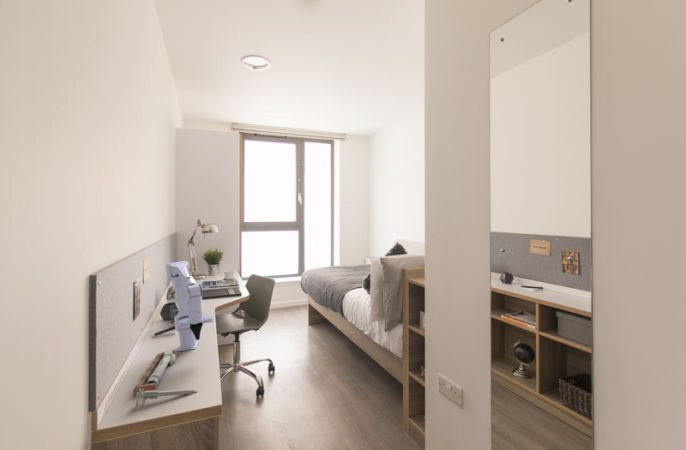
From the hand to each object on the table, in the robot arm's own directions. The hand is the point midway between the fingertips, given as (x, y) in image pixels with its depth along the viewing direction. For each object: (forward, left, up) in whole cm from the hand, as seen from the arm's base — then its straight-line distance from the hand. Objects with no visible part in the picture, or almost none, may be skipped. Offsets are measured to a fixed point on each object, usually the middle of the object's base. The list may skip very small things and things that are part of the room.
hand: (197, 339), depth 157 cm
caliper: (+32, -6, -10) cm, 34 cm away
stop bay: (+9, -16, -9) cm, 20 cm away
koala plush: (-63, -16, -10) cm, 66 cm away
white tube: (+10, -14, -10) cm, 19 cm away
